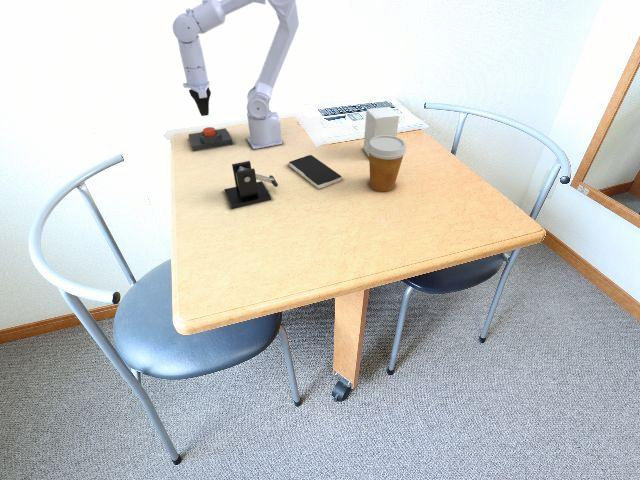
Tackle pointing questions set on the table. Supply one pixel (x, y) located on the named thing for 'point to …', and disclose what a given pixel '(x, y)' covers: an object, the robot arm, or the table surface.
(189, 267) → the table surface
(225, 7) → the robot arm
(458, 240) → the table surface
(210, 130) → the button
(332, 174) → the smartphone
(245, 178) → the bracket
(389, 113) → the white packaging box
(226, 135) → the button box
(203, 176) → the table surface
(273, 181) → the lever
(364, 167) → the table surface
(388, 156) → the disposable coffee cup
